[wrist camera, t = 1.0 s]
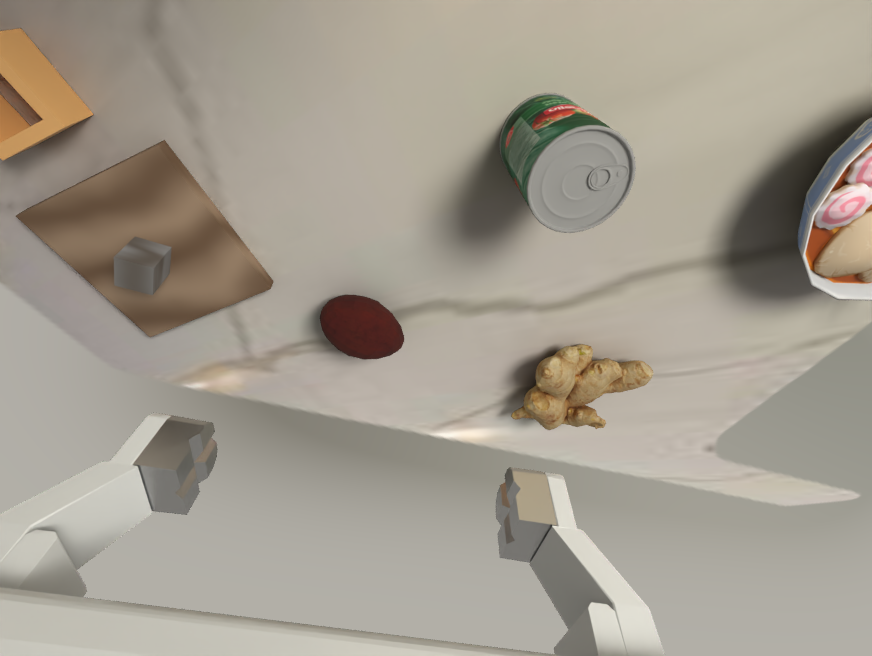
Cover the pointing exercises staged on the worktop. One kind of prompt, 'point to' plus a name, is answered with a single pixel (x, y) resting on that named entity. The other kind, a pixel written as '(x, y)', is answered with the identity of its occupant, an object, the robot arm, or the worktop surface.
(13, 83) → the orange square tube
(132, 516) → the robot arm
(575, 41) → the worktop surface
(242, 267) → the base plate
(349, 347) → the potato
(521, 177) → the canned tomato
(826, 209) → the ramen bowl
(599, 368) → the ginger root
